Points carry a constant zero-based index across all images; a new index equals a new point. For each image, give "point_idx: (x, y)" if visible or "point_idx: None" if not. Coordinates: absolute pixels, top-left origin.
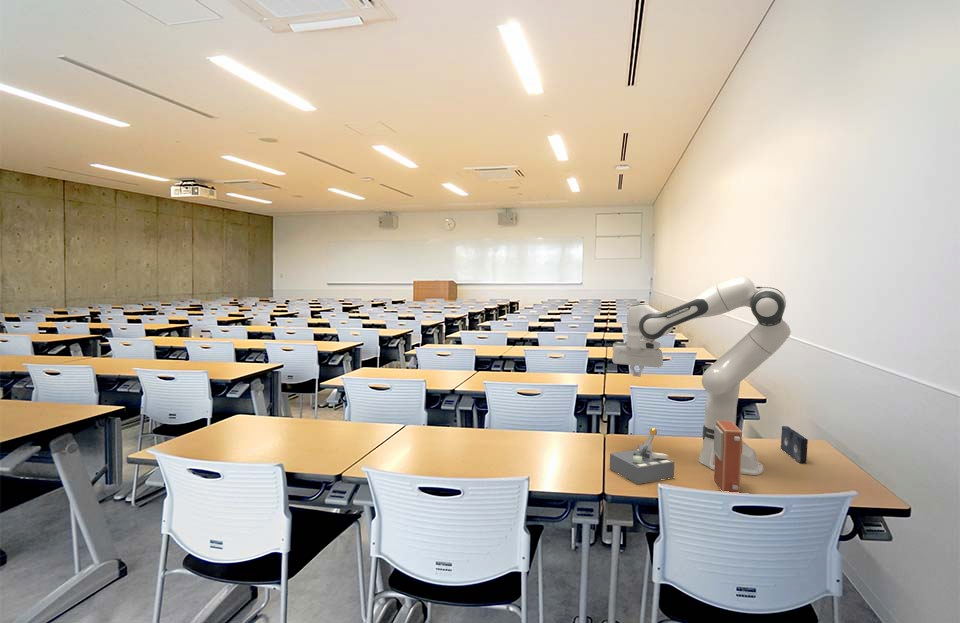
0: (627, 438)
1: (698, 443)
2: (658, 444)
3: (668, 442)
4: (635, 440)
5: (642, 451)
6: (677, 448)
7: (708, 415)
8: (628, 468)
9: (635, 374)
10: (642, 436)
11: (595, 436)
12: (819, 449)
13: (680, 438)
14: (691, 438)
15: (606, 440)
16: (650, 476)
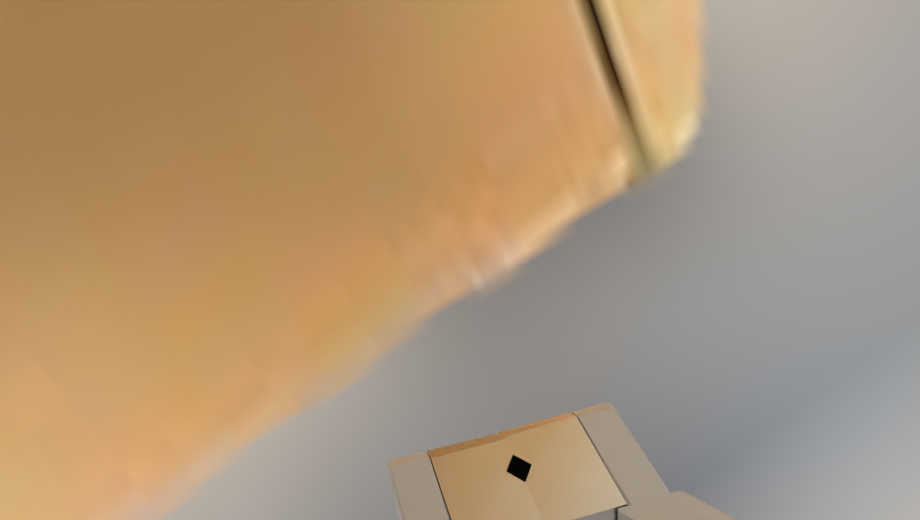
0: (471, 201)
1: (16, 456)
2: (218, 238)
3: (188, 330)
4: (402, 200)
5: None
6: (49, 254)
7: None
8: None
9: (539, 458)
10: (404, 316)
11: (688, 72)
12: None
13: (177, 457)
14: (122, 506)
15: (584, 38)
16: None
